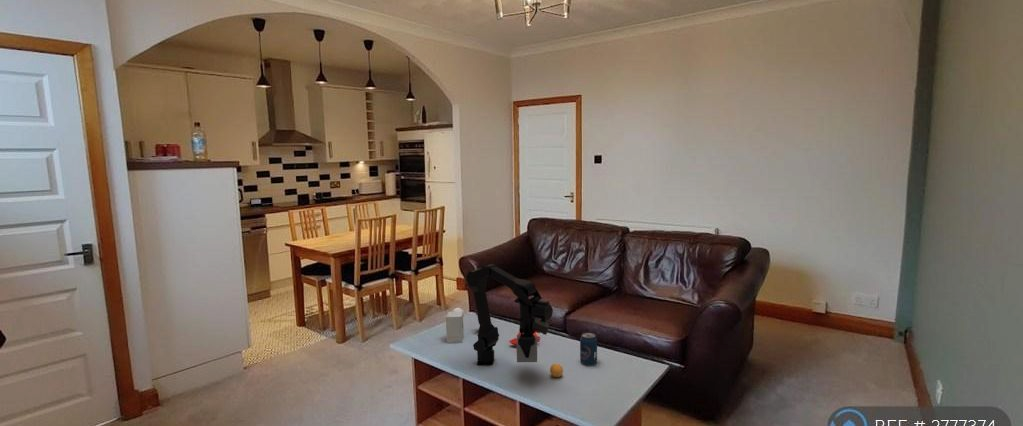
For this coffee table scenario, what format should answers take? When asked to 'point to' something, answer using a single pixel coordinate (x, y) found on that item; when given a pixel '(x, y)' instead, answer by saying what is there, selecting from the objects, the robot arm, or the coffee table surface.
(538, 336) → the animal figurine
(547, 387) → the coffee table surface
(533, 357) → the grey cube
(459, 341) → the supplement box
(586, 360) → the soda can
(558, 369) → the ball
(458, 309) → the lightbulb
